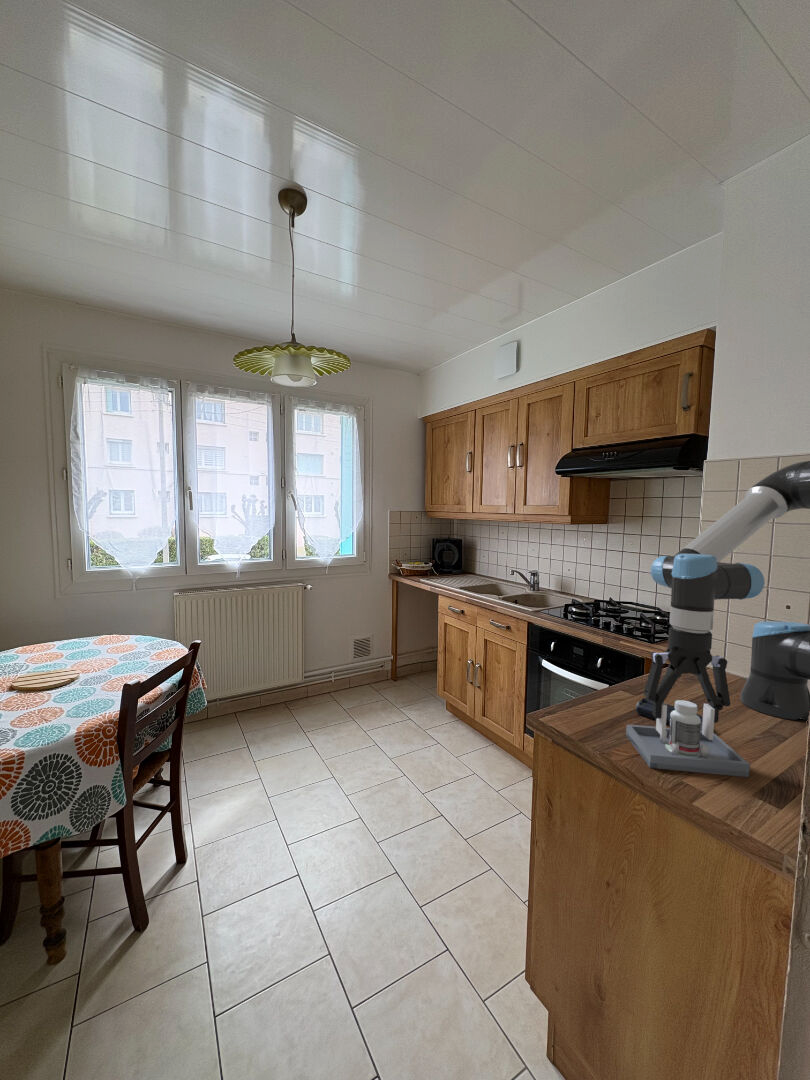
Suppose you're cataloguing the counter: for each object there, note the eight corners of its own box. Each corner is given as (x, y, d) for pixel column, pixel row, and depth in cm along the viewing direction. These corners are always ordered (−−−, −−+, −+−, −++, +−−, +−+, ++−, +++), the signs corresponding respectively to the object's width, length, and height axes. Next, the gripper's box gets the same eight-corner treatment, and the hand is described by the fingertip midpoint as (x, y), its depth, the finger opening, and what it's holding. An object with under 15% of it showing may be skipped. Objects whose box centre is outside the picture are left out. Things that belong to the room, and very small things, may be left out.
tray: (711, 742, 98) (712, 727, 97) (748, 777, 85) (750, 759, 84) (626, 735, 100) (626, 720, 100) (649, 767, 87) (650, 750, 87)
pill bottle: (706, 754, 90) (707, 707, 90) (685, 757, 89) (686, 709, 89) (683, 742, 95) (684, 697, 95) (663, 744, 94) (664, 699, 94)
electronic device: (633, 722, 110) (702, 737, 99) (632, 699, 111) (701, 712, 100) (649, 717, 116) (715, 731, 105) (648, 695, 117) (714, 707, 106)
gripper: (735, 626, 93) (727, 730, 94) (629, 621, 96) (623, 722, 97) (758, 636, 86) (750, 748, 87) (643, 630, 88) (637, 739, 90)
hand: (683, 734), depth 92 cm, fingers open, 8 cm apart
